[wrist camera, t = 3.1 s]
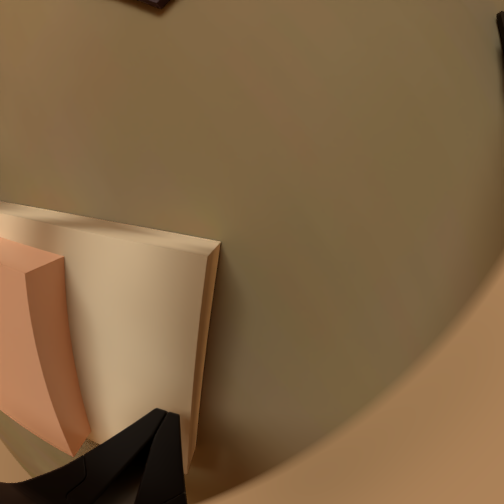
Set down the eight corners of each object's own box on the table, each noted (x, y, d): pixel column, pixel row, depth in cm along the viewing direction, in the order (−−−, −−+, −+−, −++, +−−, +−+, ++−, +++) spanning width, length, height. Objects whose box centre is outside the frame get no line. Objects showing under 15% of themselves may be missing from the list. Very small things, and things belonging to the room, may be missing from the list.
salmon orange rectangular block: (64, 256, 8) (24, 273, 6) (91, 431, 10) (73, 457, 9) (-20, 230, 8) (-52, 239, 7) (11, 385, 11) (-8, 403, 9)
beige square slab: (221, 241, 10) (207, 256, 8) (195, 446, 12) (187, 474, 11) (-1, 201, 10) (-29, 206, 8) (23, 374, 13) (6, 390, 11)
